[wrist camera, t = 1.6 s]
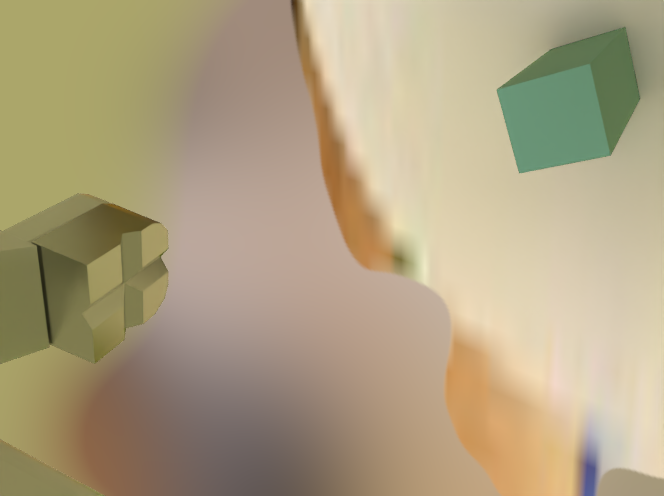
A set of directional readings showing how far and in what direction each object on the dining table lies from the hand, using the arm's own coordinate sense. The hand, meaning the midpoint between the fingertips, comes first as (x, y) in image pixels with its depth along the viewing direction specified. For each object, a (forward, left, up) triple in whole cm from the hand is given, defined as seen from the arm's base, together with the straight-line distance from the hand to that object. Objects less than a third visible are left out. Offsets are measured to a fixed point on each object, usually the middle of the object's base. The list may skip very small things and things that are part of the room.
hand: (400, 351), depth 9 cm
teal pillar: (+4, +2, -37) cm, 37 cm away
